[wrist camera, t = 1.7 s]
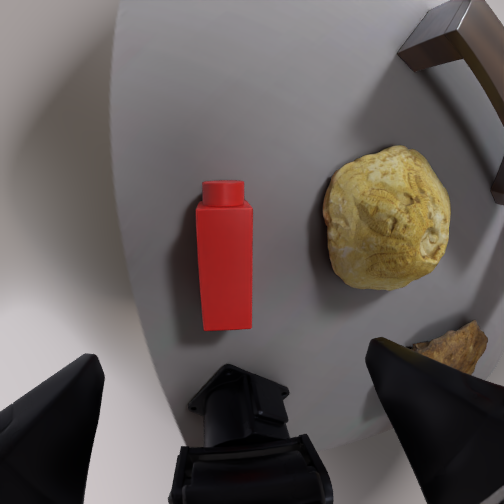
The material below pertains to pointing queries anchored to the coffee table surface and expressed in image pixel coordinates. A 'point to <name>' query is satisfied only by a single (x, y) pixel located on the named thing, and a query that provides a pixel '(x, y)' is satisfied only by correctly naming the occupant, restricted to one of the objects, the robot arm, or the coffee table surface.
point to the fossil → (386, 219)
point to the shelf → (463, 51)
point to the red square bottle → (225, 255)
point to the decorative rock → (456, 347)
